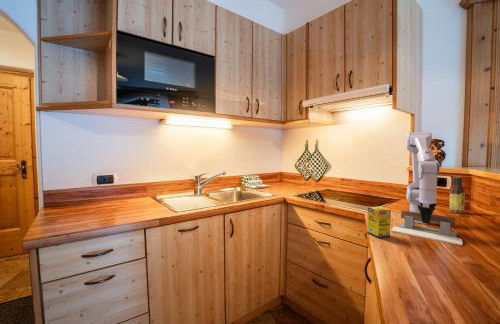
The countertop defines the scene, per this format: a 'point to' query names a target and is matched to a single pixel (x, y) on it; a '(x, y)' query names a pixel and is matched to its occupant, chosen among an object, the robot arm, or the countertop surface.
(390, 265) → the countertop surface
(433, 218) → the rail
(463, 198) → the sauce bottle
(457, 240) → the mat
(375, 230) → the supplement box
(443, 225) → the rack
